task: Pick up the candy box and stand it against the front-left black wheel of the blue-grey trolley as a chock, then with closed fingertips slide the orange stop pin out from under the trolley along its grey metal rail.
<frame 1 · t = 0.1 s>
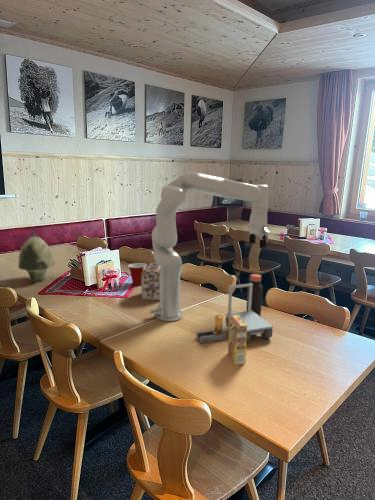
hand: (257, 245, 181), 31 cm above the table, fingers open, 9 cm apart
trolley: (247, 332, 158), on the table
pin rail: (211, 338, 152), on the table
candy box: (236, 358, 137), on the table
decorative jar: (154, 296, 198), on the table
stop pin: (225, 324, 153), point 5 cm above the table, slide at 0.0 cm
plastic cup: (137, 284, 216), on the table
bottle: (253, 316, 175), on the table
potted topiary: (37, 280, 220), on the table
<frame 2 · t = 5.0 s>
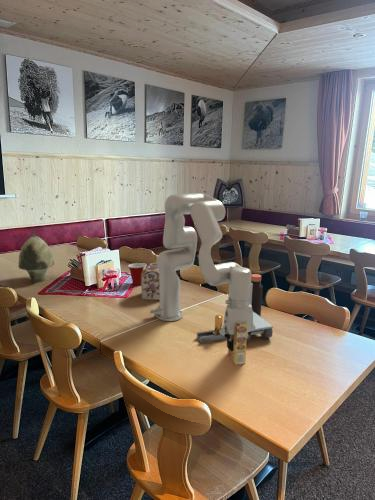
hand: (236, 347, 136), 4 cm above the table, fingers closed on candy box, 4 cm apart
candy box: (235, 358, 137), on the table, touching gripper
everything else where it was.
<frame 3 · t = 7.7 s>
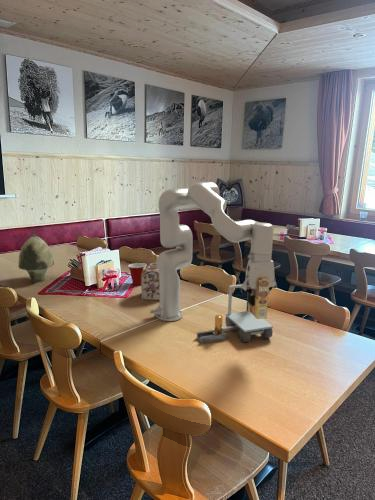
hand: (257, 303, 138), 20 cm above the table, fingers closed on candy box, 4 cm apart
candy box: (256, 314, 139), point 15 cm above the table, touching gripper
everything else where it was.
when the fingers open (5 cm above the table, at t = 10.5 s): candy box stays where it is, on the table.
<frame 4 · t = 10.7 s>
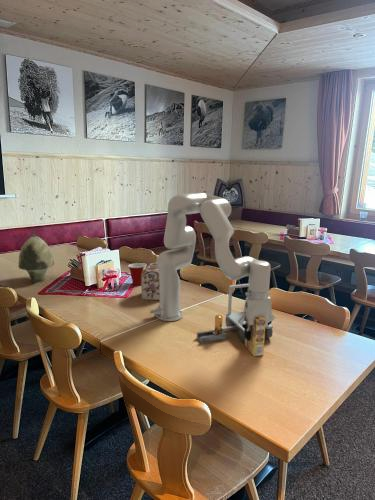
hand: (255, 337, 142), 6 cm above the table, fingers open, 6 cm apart
candy box: (253, 351, 143), on the table
everything else where it was.
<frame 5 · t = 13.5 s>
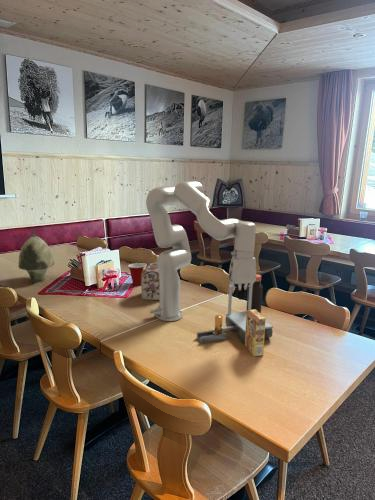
hand: (240, 298, 146), 18 cm above the table, fingers closed
nothing on the table moved.
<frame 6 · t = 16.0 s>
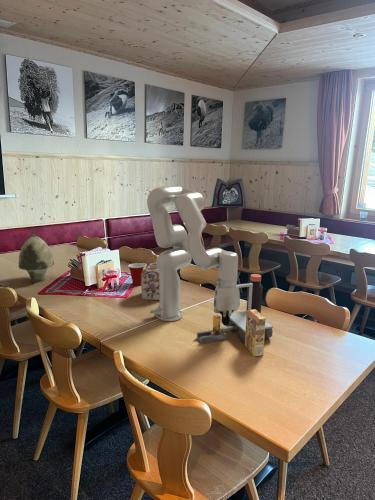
hand: (225, 324, 153), 6 cm above the table, fingers closed
stop pin: (223, 325, 152), point 5 cm above the table, slide at 0.9 cm, touching gripper
everything else where it was.
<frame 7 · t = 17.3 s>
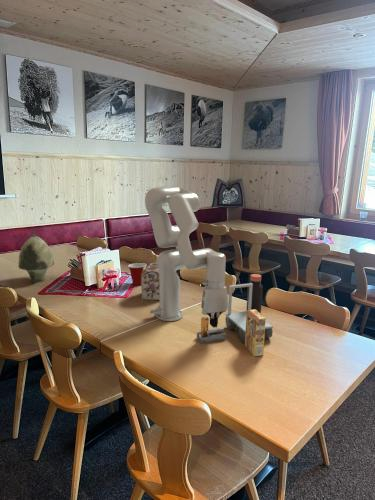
hand: (213, 326, 151), 6 cm above the table, fingers closed
stop pin: (211, 326, 150), point 5 cm above the table, slide at 6.2 cm, touching gripper
everything else where it was.
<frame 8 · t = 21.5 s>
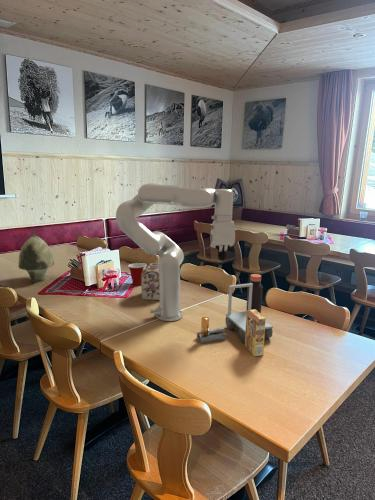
hand: (221, 259, 162), 29 cm above the table, fingers closed
stop pin: (212, 326, 151), point 5 cm above the table, slide at 6.0 cm
everything else where it was.
at the end: candy box inside the target area (0.6 cm from its centre), on the table; candy box tilted 0°; stop pin slide at 6.0 cm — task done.
